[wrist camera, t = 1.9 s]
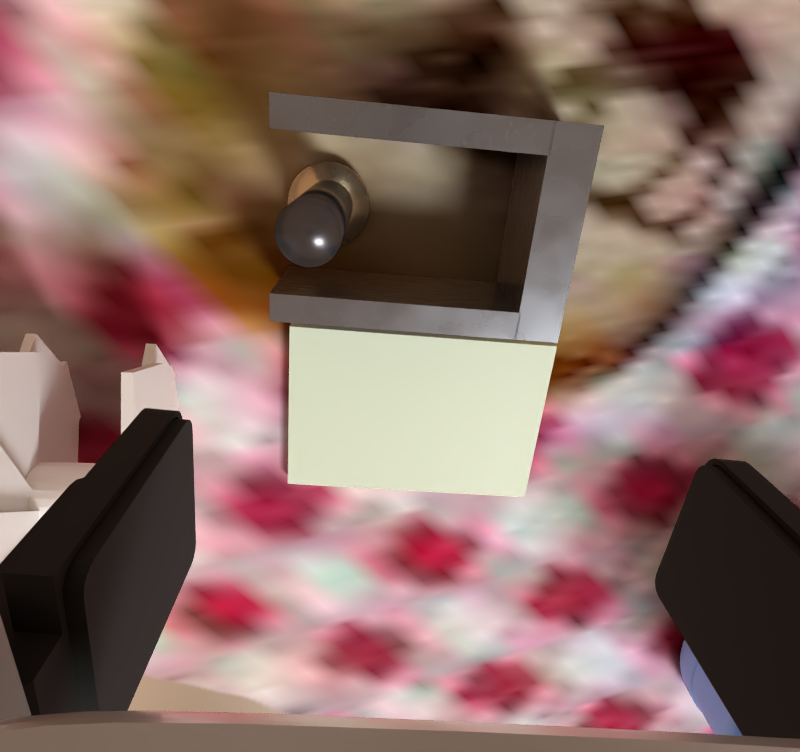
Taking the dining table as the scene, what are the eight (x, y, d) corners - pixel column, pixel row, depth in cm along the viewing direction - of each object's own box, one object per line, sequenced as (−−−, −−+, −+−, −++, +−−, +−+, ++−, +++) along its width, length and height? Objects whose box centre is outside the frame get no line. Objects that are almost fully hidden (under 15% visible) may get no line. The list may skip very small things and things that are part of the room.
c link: (562, 126, 30) (604, 125, 24) (528, 308, 34) (557, 342, 28) (290, 99, 29) (268, 91, 23) (288, 289, 33) (269, 321, 27)
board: (553, 341, 34) (556, 346, 34) (521, 490, 39) (524, 497, 38) (291, 322, 33) (289, 326, 33) (289, 476, 38) (287, 483, 37)
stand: (372, 165, 30) (368, 180, 21) (366, 247, 32) (361, 293, 23) (289, 157, 30) (250, 169, 21) (289, 240, 32) (252, 284, 23)
